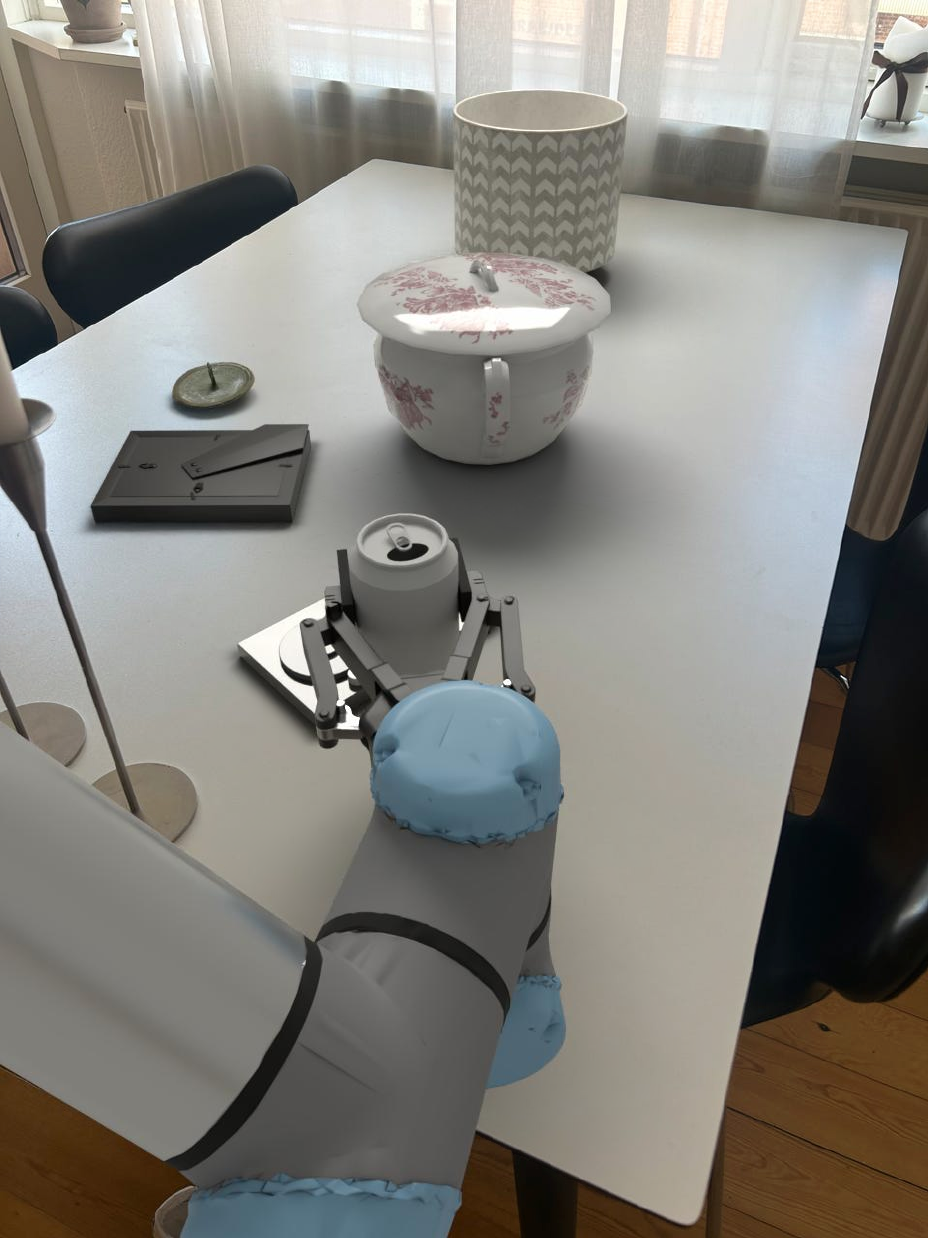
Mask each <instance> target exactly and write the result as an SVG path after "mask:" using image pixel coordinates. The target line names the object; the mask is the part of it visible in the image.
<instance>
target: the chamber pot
mask: <svg viewBox="0 0 928 1238" xmlns="http://www.w3.org/2000/svg"><path fill="white" fill-rule="evenodd" d="M611 301H612V300H611V295H610V293H609V292H608V291H607V290H606V289H605V288H604V287H603V286H602V284H601V283H600V282H599V281H598V280H597V279H596V278H595V277H593V276H591V275H589V274H588V273H587V272H585V273H584V272H582V271H580V270H578V269H576V268H574V267H572V266H568V265H565V264H562V263H558V262H555V261H551V260H548V259H545V258H538V257H531V256H524V255H518V254H511V253H464V254H456V253H455V254H443V255H437V256H432V257H428V258H423V259H418V260H413V261H409V262H406V263H404V264H401V265H398V266H396V267H394V268H391V269H388V270H385V271H383V272H382V273H381V274H379V275H377V276H376V277H375V278H374V279H373V280H371V281H370V282H369V283H367V284H366V285H365V286H364V287H363V289H362V291H361V293H360V295H359V297H358V300H357V302H356V306H357V307H356V308H357V309H358V312H359V315H360V318H361V321H363V322H364V323H365V324H366V325H368V326H369V327H371V328H372V329H373V330H374V331H375V332H376V333H377V334H376V337H375V340H374V342H373V358H374V367H375V370H376V374H377V377H378V378H377V379H378V381H379V384H380V388H381V392H382V396H383V398H384V400H385V401H384V402H385V404H386V406H387V409H388V412H389V413H390V414H391V415H392V416H393V418H394V419H395V421H396V422H397V423H398V424H399V425H400V427H401V429H403V431H404V432H405V433H406V434H407V436H408V437H409V438H411V439H412V440H413V441H414V442H415V444H417V445H418V446H419V447H420V448H422V449H423V450H424V451H425V452H428V453H429V454H432V455H434V456H437V457H438V458H440V459H443V460H446V461H447V460H448V461H451V462H455V463H461V464H465V465H484V466H485V465H489V466H490V465H499V464H506V463H513V462H516V461H520V460H522V459H525V458H529V457H532V456H534V455H535V454H537V453H539V452H540V451H542V450H543V449H545V448H546V447H548V446H549V445H550V444H552V443H554V441H555V440H556V439H557V437H558V436H559V435H560V433H562V431H563V430H564V428H566V426H567V425H568V424H569V422H570V421H572V419H573V417H574V416H575V415H576V413H577V412H578V410H579V409H580V407H581V406H582V405H583V402H584V399H585V396H586V393H587V389H588V386H589V383H590V380H591V376H592V374H593V373H592V372H593V361H594V336H593V334H592V332H594V331H596V330H597V329H600V327H601V326H602V324H603V323H604V322H605V320H606V319H607V318H608V317H609V315H610V314H611V313H612V304H611V303H612V302H611Z"/></svg>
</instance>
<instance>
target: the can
mask: <svg viewBox="0 0 928 1238" xmlns="http://www.w3.org/2000/svg"><path fill="white" fill-rule="evenodd" d="M449 538H450V537H449V534H448V532H447V530H446V528H445V527H444V526H443V525H442V524H440V523H439V521H437V520H435V519H432V518H431V517H429V516H427V515H426V516H425V515H422V514H417V513H399V512H398V513H394V514H388V515H383V516H380V517H378V518H376V519H375V518H374V519H373V520H372V521H370V522H368V523H367V524H365V525H364V526H363V527H362V528H361V529H360V530H359V532H358V533H357V535H356V540H355V544H354V546H353V547H351V549H350V551H349V555H348V565H349V574H350V583H351V590H352V597H353V606H354V615H355V624H356V628H357V630H358V631H359V632H360V633H361V635H362V636H363V637H364V638H365V640H366V641H367V642H368V643H369V645H370V646H371V647H372V648H373V650H374V651H375V652H376V653H377V655H378V656H379V657H380V658H381V660H382V661H383V662H384V663H385V662H388V663H389V664H390V666H391V667H392V668H393V669H394V671H395V672H396V673H397V674H398V675H402V674H424V673H428V672H431V671H436V670H444V669H446V666H447V663H448V660H449V657H450V655H451V654H452V655H453V652H454V649H455V647H456V644H457V641H458V638H459V589H458V552H457V550H456V547H455V545H454V543H453V542H452V541H451V540H449Z"/></svg>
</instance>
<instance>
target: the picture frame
mask: <svg viewBox="0 0 928 1238" xmlns="http://www.w3.org/2000/svg"><path fill="white" fill-rule="evenodd" d="M309 427H310V426H309V423H271V424H269V423H264V424H262V425H260V426H259V427H256V428H254V429H211V430H210V429H207V430H206V429H195V430H193V429H192V430H191V429H187V430H185V429H184V430H183V429H182V430H181V429H176V430H175V429H173V430H171V429H170V430H168V429H167V430H130V431H129V433H128V435H127V437H126V438H125V440H124V441H123V444H122V446H121V448H120V450H119V452H118V454H117V455H116V457H115V459H114V461H113V462H112V465H111V467H110V468H109V469H108V472H107V474H106V476H105V477H104V480H103V481H102V483H101V485H100V486H99V489H98V491H97V492H96V494H95V496H94V498H93V500H92V502H91V504H90V505H89V507H90V510H91V513H92V517H93V520H94V523H264V522H265V523H273V522H274V523H279V522H280V523H283V522H284V523H288V522H289V523H292V522H293V521H294V517H295V513H296V509H297V505H298V500H299V496H300V492H301V488H302V484H303V480H304V476H305V472H306V467H307V463H308V459H309V455H310V452H311V447H312V441H311V434H310V429H309Z"/></svg>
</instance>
